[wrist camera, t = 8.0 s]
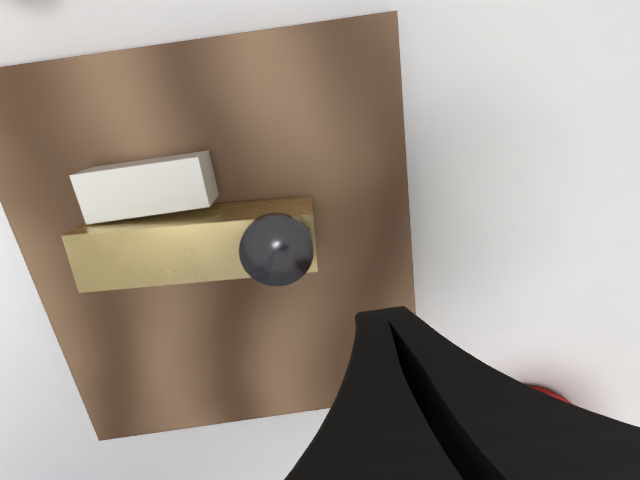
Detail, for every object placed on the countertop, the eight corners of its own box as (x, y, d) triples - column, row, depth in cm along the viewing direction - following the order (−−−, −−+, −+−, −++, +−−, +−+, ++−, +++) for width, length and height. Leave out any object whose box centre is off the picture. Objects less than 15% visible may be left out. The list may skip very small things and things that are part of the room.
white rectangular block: (108, 211, 18) (86, 224, 16) (93, 166, 18) (69, 175, 16) (218, 195, 18) (209, 207, 16) (208, 150, 18) (197, 156, 16)
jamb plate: (107, 426, 24) (99, 440, 23) (-33, 75, 17) (-53, 74, 16) (415, 383, 24) (420, 395, 23) (391, 15, 17) (397, 10, 16)
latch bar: (310, 191, 18) (313, 213, 15) (315, 249, 19) (318, 282, 16) (96, 209, 18) (50, 236, 15) (112, 267, 19) (72, 304, 16)
